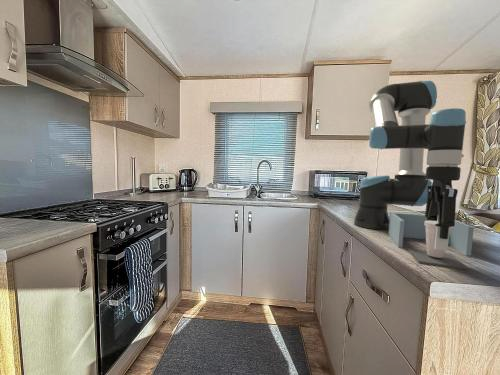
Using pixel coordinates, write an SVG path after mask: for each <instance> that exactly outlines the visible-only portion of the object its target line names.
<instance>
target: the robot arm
mask: <svg viewBox="0 0 500 375" xmlns="http://www.w3.org/2000/svg"><path fill="white" fill-rule="evenodd" d="M437 98H438V90H437V86H436V84H435V82H434V81H432V80H418V81H411V82H401V83H400V82H399V83H392V84H391V83H390V84H387V85H386V86H383V87H382V88H380V89H378V90H377V91H376V92H375V93H374V94H373V95H372V97H371V98H370V101H369V111H370V112H371V113H372V117H373V127H371V128H370V130H369V137H368V138H369V142H368V143H369V144H368V145H369V148H371V149H377V150H378V149H379V150H383V149H384V150H388V149H389V150H390V149H392V150H393V149H396V150H397V149H400V150H399V161H398V163H399V164H398V171H397V172H396V173H395V174H394V178H391V177H390V175H375V176H366V177H362V178H361V180H360V185H359V202H358V209H357V212H356V214H355V216H354V219H353V224H354V226H357V227H361V228H364V229H371V230H389V220H390V214H389V213H388V206H389V205H392V206H393V205H395V206H408V207H423V206H425V212H424V213H425V214H424V215H425V217H427V220H431V221H437V219H438V224H435V226H436V237H435V249H438V250H445V251H449V250H448V249H449V244H448V240H449V230H450V227H451V226H452V227H454V225H455V220H456V206H457V205H456V204H457V195H458V189H457V188H453V185H452V184H453V181H459V180H460V179H461V172H462V171H461V169H462V168H461V167H460V165H462V159H463V158H464V157H465V155H464V154H463V147H464V140H465V132H466V131H465V130H466V124H467V121H466V119H467V118H466V111H465V109H463V108H459V107H458V108H456V107H455V108H444V109H439V110H436V111H433V112H432V113H431V110H432V109H434V107H435V106H436V104H437ZM396 112H397V115H396ZM430 113H431V116H430V120H429V124H426V116H428V115H429V114H430ZM397 117H399V118H401V125H399V121H398V118H397ZM425 150H427V154H426V165H428V166H427V167H426V169H425V170H426V171H425V172H424V171H423V170H424V169H423V168H424V154H425V152H424V151H425Z"/></svg>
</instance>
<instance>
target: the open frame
mask: <svg viewBox="0 0 500 375" xmlns="http://www.w3.org/2000/svg"><path fill="white" fill-rule="evenodd" d="M389 219H390V220H389V229H388V236H389V237H390V239H391V240H392V241H393V243H394V244H395V245H396V247H397V248H401V249H402V248H403V244H404V238H410V239H419V240H426V226H425V225H424V222H425V221H428V220H427V217H425V214H414V213H402V212H401V213H400V212H399V213H398V212H390V213H389ZM474 229H475V227H474V226H472V225H470V224H468V223H465V222H462V221H460V220H457V219H455V225H454V227H452V229H451V230H450V234H449V240H448V246H451V247H452V248H454V249H456V250H457V251H459V253H461V254H463V255H465V256H466V257H467V256H468V257H471V256H472V249H473V241H474V240H473V238H474Z"/></svg>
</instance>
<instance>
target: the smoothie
mask: <svg viewBox="0 0 500 375" xmlns="http://www.w3.org/2000/svg"><path fill="white" fill-rule="evenodd" d="M435 224H438V219H437V221H431V220H428V221H425V222H424V225H425V226H426V239H425V243H426V251H427V254H428V255H429V256H432V257H437V258H443V256H444V253H446V252H445V251H446V250H438V249H435V237H436V226H435ZM451 229H452V226H451V227H450V230H451ZM450 230H449V234H450Z"/></svg>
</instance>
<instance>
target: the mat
mask: <svg viewBox="0 0 500 375" xmlns="http://www.w3.org/2000/svg"><path fill="white" fill-rule="evenodd" d="M407 252H408V253H409V254H410V255H411V256H412V257H413V259H415V261H416V263H417V264H421V263H422V264H423V265H428V266H430V265H431V266H436V267H437V266H438V267H442V268H443V267H445V268H450V269H458V270H466V271H469V267H468V266H467V265H466V264H464V263H463V262H462V261H460V260H459V259H457V257H455V256H454V255H452V254H451V253H446V252H445V253H444V256H443V258H437V257H432V256H429V255H428V254H427V250H422V249H421V250H420V249H413V248H407Z"/></svg>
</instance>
